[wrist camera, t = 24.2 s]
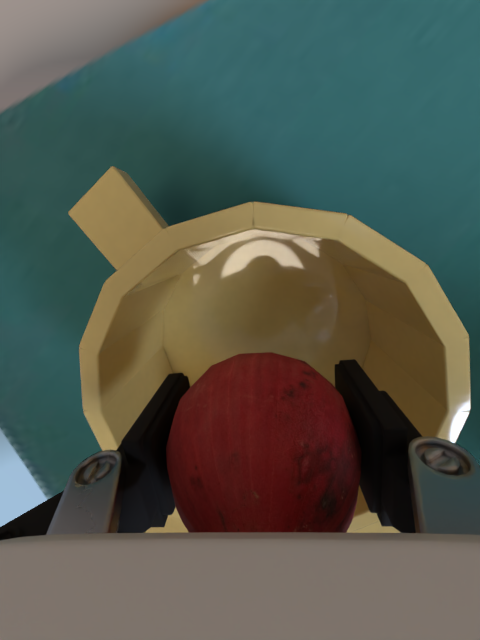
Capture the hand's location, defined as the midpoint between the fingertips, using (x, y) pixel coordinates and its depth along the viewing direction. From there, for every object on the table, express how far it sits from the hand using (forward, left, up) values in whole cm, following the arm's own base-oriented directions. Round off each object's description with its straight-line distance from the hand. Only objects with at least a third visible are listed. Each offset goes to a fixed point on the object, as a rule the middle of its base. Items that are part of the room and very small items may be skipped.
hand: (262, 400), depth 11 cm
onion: (0, 0, -2) cm, 2 cm away
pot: (0, 0, -7) cm, 7 cm away
